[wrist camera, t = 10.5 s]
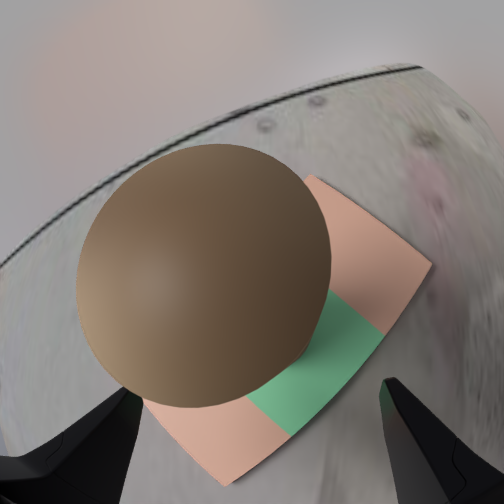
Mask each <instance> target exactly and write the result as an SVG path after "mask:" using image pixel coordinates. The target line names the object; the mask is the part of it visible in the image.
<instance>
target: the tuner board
mask: <svg viewBox="0 0 504 504" xmlns="http://www.w3.org/2000/svg"><path fill="white" fill-rule="evenodd" d="M303 182H304V183H305V184H306V186H307V187H308V188H309V189H310V191H311V193H312V194H313V196H314V197H315V199H316V200H317V202H318V204H319V207H320V209H321V211H322V213H323V216H324V218H325V221H326V225H327V229H328V233H329V236H330V245H331V255H332V260H331V278H330V284H329V289H328V294H327V299H326V301H325V304H324V307H323V310H322V313H321V315H320V318H319V321H318V323H317V326H316V328H315V331H314V333H313V336H312V338H311V341H310V343H309V345H308V347H307V349H306V351H305V352H304V353H303V355H302V356H301V357H300V358H299V359H297V360H296V361H295V362H294V363H292V364H291V365H290V366H289V367H287V368H286V369H285V370H284V371H282V372H281V373H280V374H278V375H277V376H276V377H274V378H273V379H272V380H270V381H269V382H267V383H266V384H265V385H263V386H262V387H260V388H259V389H257V390H255V391H253V392H251V393H249V394H247V395H245V396H243V397H241V398H239V399H236V400H233V401H230V402H227V403H224V404H220V405H215V406H209V407H202V408H178V407H172V406H167V405H161V404H158V403H155V402H152V401H150V400H147V399H144V398H142V399H143V402H144V404H145V405H146V406H147V408H148V409H149V410H150V411H151V412H152V414H153V415H154V416H155V417H156V419H157V420H158V421H159V422H160V423H161V424H162V426H163V427H164V428H165V429H166V430H167V431H168V432H169V433H170V435H171V436H172V437H173V438H174V439H175V440H176V441H177V442H178V443H179V444H180V445H181V446H182V447H183V448H184V450H185V451H186V452H187V453H188V454H189V455H190V456H191V457H192V458H193V459H194V460H195V461H197V462H198V463H199V464H200V465H201V466H202V467H203V468H204V469H205V470H206V471H207V472H208V473H209V474H210V475H212V476H213V477H214V478H215V479H216V480H217V481H218V482H220V483H221V484H222V485H223V486H224V487H225V486H227V485H228V484H230V483H231V482H233V481H234V480H236V479H237V478H239V477H240V476H242V475H243V474H245V473H246V472H247V471H249V470H250V469H252V468H253V467H254V466H256V465H257V464H258V463H260V462H261V461H262V460H264V459H265V458H266V457H267V456H269V455H270V454H271V453H272V452H274V451H275V450H276V449H277V448H279V447H280V446H281V445H282V444H283V443H285V442H286V441H287V440H288V439H289V438H290V437H292V436H293V435H294V434H295V433H296V432H297V431H298V430H300V429H301V428H302V427H303V426H304V425H305V424H306V423H307V422H308V421H309V420H310V419H311V418H312V417H314V416H315V415H316V414H317V413H318V412H319V411H320V410H321V409H322V408H323V407H324V406H325V405H326V404H327V403H328V402H329V401H330V400H331V399H332V398H333V397H334V395H335V394H336V393H337V392H338V391H339V390H340V389H341V388H342V387H343V386H344V385H345V384H346V383H347V381H348V380H349V379H350V378H351V377H352V376H353V375H354V374H355V372H356V371H357V370H358V369H359V368H360V367H361V365H362V364H363V363H364V362H365V361H366V359H367V358H368V357H369V356H370V355H371V353H372V352H373V351H374V350H375V348H376V347H377V346H378V345H379V343H380V342H381V341H382V339H383V338H384V337H385V335H386V334H387V333H388V331H389V330H390V329H391V327H392V326H393V325H394V323H395V322H396V320H397V319H398V317H399V316H400V315H401V313H402V312H403V310H404V309H405V307H406V306H407V304H408V303H409V301H410V300H411V298H412V297H413V295H414V294H415V292H416V290H417V289H418V287H419V286H420V284H421V282H422V281H423V279H424V277H425V276H426V274H427V272H428V271H429V269H430V267H431V265H432V263H431V262H430V261H429V260H427V259H426V258H425V257H424V256H423V255H422V254H420V253H419V252H418V251H417V250H416V249H414V248H413V247H412V246H411V245H409V244H408V243H407V242H406V241H404V240H403V239H402V238H401V237H399V236H398V235H397V234H396V233H394V232H393V231H392V230H390V229H389V228H388V227H387V226H385V225H384V224H383V223H381V222H380V221H379V220H377V219H376V218H375V217H373V216H372V215H370V214H369V213H368V212H366V211H365V210H364V209H362V208H361V207H359V206H358V205H357V204H355V203H354V202H352V201H351V200H349V199H348V198H346V197H345V196H344V195H342V194H341V193H339V192H338V191H336V190H335V189H333V188H332V187H330V186H329V185H327V184H326V183H324V182H322V181H321V180H319V179H318V178H316V177H315V176H313V175H311V174H310V175H309V176H308V177H307V178H306V179H305V180H304V181H303Z"/></svg>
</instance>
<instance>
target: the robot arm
mask: <svg viewBox="0 0 504 504" xmlns="http://www.w3.org/2000/svg"><path fill="white" fill-rule="evenodd" d="M379 400H380V406H381V414H382V421H383V430H384V436H385V441H386V445H387V449H388V454H389V458H390V463H391V467H392V472H393V477H394V482H395V487H396V492H397V498H398V503H399V504H504V474H503V473H501V472H500V471H499V470H497V469H496V468H494V467H493V466H492V465H490V464H489V463H487V462H486V461H485V460H483V459H482V458H481V457H479V456H478V455H477V454H475V453H474V452H473V451H472V450H471V449H470V448H468V447H467V446H466V445H465V444H464V443H463V442H462V441H461V440H460V439H459V438H457V436H456V435H455V434H454V433H453V432H452V431H451V430H450V429H449V428H448V427H447V426H445V425H444V424H443V423H442V422H441V421H440V420H439V419H438V418H437V417H436V416H435V415H434V414H433V413H432V412H431V411H430V410H429V409H428V408H427V407H426V406H425V405H424V404H423V403H422V402H421V401H420V400H419V399H418V398H416V397H415V396H414V395H413V394H412V393H411V392H410V391H409V390H408V389H407V388H406V387H405V386H404V385H403V384H402V383H401V382H400V381H399V380H398V379H397V378H395V377H391V378H387V379H384V380H383V382H382V386H381V390H380V393H379ZM142 409H143V399H142V397H140V396H138V395H136V394H135V393H133V392H131V391H129V390H128V389H126V388H125V387H124V386H123V387H122V388H120V389H119V390H118V391H116V392H115V393H114V394H113V395H111V396H110V397H109V398H107V399H106V400H105V401H103V402H102V403H101V404H99V405H98V406H97V407H95V408H94V409H93V410H91V411H90V412H89V413H87V414H86V415H85V416H83V417H82V418H81V419H79V420H78V421H77V422H75V423H74V424H72V425H71V426H70V427H68V428H67V429H66V430H64V431H63V432H61V433H60V434H59V435H57V436H56V437H54V438H53V439H51V440H50V441H48V442H47V443H45V444H43V445H42V446H40V447H38V448H36V449H34V450H33V451H31V452H29V453H27V454H25V455H23V456H19V457H9V456H0V504H119V502H120V498H121V494H122V490H123V486H124V482H125V478H126V474H127V471H128V467H129V463H130V460H131V456H132V453H133V449H134V446H135V442H136V439H137V435H138V431H139V425H140V420H141V414H142Z"/></svg>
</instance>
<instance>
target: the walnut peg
mask: <svg viewBox="0 0 504 504" xmlns="http://www.w3.org/2000/svg"><path fill="white" fill-rule="evenodd" d="M331 260H332V255H331V245H330V236H329V233H328V229H327V225H326V221H325V218H324V216H323V213H322V211H321V209H320V207H319V204H318V202H317V200H316V199H315V197H314V196H313V194H312V193H311V191H310V189H309V188H308V187H307V186H306V184H305V183H304V182H303V181H302V180H301V179H300V178H299V176H298V175H297V174H295V173H294V172H293V171H292V170H291V169H290V168H288V167H287V166H286V165H285V164H283V163H281V162H280V161H278V160H277V159H275V158H273V157H271V156H269V155H267V154H265V153H262V152H260V151H257V150H254V149H251V148H247V147H243V146H237V145H230V144H208V145H199V146H194V147H189V148H185V149H182V150H178V151H175V152H172V153H170V154H168V155H165V156H163V157H161V158H159V159H157V160H155V161H153V162H151V163H149V164H148V165H146V166H145V167H143V168H142V169H140V170H139V171H137V172H136V173H135V174H133V175H132V176H131V177H130V178H129V179H127V180H126V181H125V182H124V183H123V184H122V185H121V186H120V187H119V188H118V189H117V190H116V191H115V192H114V193H113V194H112V196H111V197H110V198H109V199H108V201H107V202H106V203H105V204H104V206H103V207H102V209H101V210H100V212H99V213H98V215H97V217H96V218H95V220H94V222H93V224H92V226H91V228H90V230H89V232H88V235H87V237H86V239H85V242H84V245H83V248H82V252H81V255H80V260H79V265H78V270H77V280H76V300H77V308H78V315H79V319H80V323H81V327H82V330H83V332H84V335H85V338H86V340H87V343H88V345H89V346H90V348H91V350H92V352H93V354H94V355H95V357H96V358H97V360H98V361H99V362H100V364H101V365H102V366H103V368H104V369H105V370H106V371H107V372H108V373H109V374H110V375H111V376H112V377H113V378H114V379H115V380H116V381H117V382H118V383H120V384H121V385H122V386H124V387H125V388H126V389H128V390H129V391H131V392H133V393H135V394H136V395H138V396H140V397H142V398H144V399H147V400H150V401H152V402H155V403H158V404H161V405H167V406H172V407H178V408H202V407H209V406H215V405H220V404H224V403H227V402H230V401H233V400H236V399H239V398H241V397H243V396H245V395H247V394H249V393H251V392H253V391H255V390H257V389H259V388H260V387H262V386H263V385H265V384H266V383H267V382H269V381H270V380H272V379H273V378H274V377H276V376H277V375H278V374H280V373H281V372H282V371H284V370H285V369H286V368H287V367H289V366H290V365H291V364H292V363H294V362H295V361H296V360H297V359H299V358H300V357H301V356H302V355H303V353H304V352H305V351H306V349H307V347H308V345H309V343H310V341H311V338H312V336H313V333H314V331H315V328H316V326H317V323H318V321H319V318H320V315H321V313H322V310H323V307H324V304H325V301H326V299H327V294H328V289H329V284H330V278H331Z"/></svg>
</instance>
